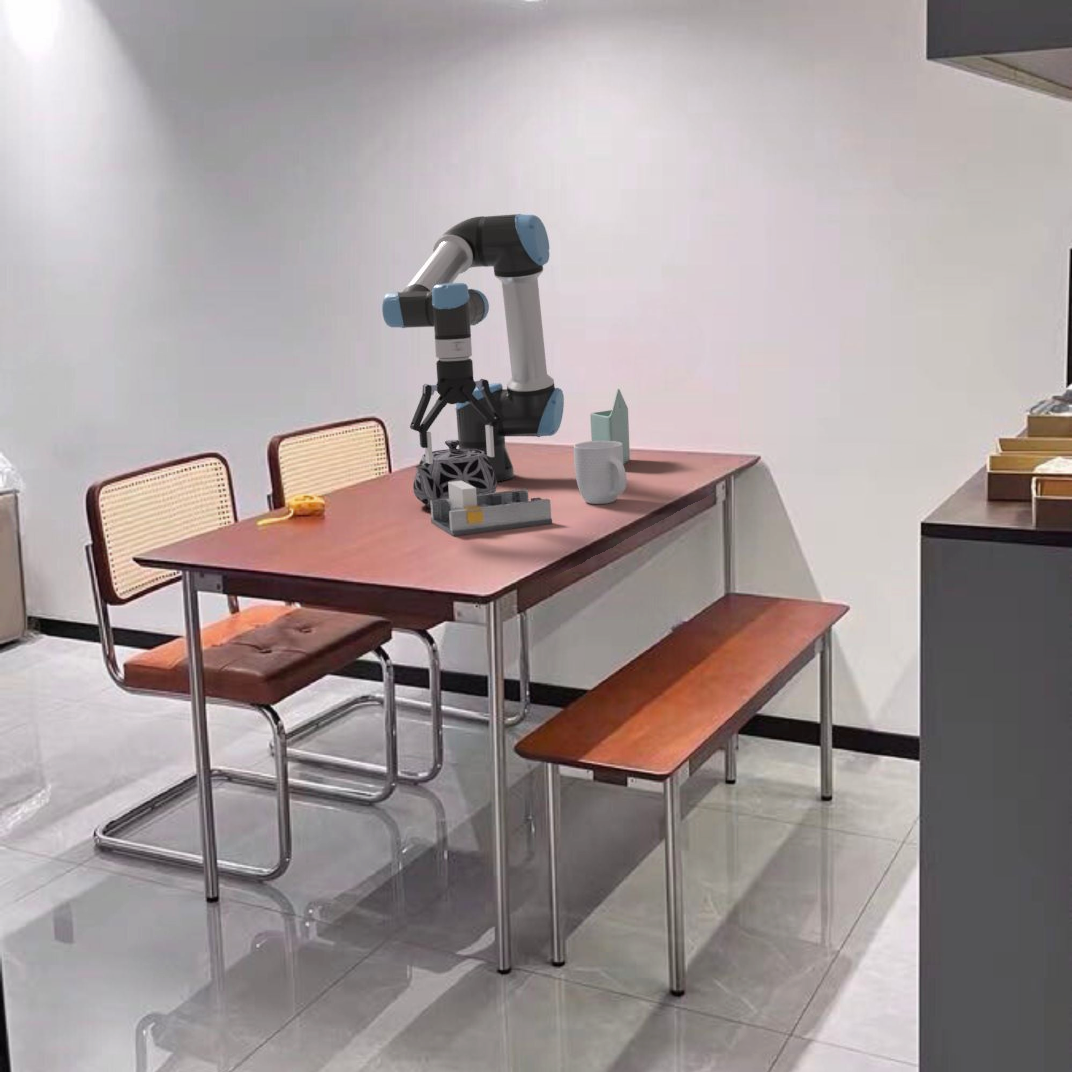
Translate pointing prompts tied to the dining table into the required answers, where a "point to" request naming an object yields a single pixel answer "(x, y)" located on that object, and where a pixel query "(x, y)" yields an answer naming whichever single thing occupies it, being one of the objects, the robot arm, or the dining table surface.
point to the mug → (599, 470)
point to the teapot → (453, 472)
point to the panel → (461, 495)
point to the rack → (491, 513)
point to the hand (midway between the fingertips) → (460, 459)
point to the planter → (612, 425)
